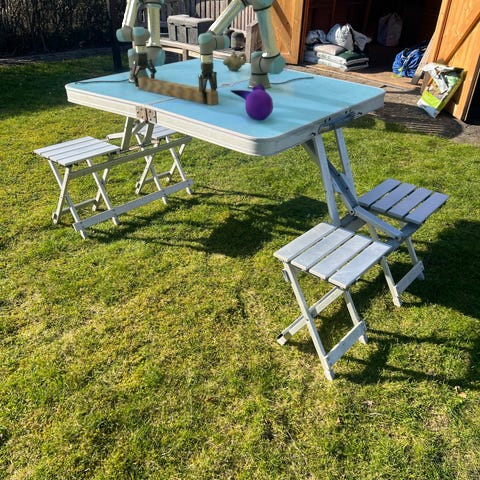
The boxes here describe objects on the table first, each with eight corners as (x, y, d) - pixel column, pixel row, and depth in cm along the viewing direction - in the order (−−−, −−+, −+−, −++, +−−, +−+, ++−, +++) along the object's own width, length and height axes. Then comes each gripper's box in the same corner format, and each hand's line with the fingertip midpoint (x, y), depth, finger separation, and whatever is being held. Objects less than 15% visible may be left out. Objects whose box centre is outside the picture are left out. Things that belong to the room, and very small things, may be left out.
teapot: (226, 73, 360) (226, 53, 352) (220, 71, 368) (219, 51, 361) (249, 70, 369) (249, 50, 361) (242, 68, 377) (242, 49, 370)
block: (138, 89, 315) (136, 77, 311) (144, 87, 319) (143, 76, 315) (211, 105, 271) (210, 92, 267) (218, 103, 275) (217, 90, 271)
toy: (255, 109, 260) (272, 127, 239) (226, 104, 252) (242, 122, 232) (262, 81, 252) (281, 97, 231) (233, 76, 244) (251, 92, 224)
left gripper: (129, 55, 292) (133, 88, 302) (159, 50, 307) (162, 83, 318) (122, 54, 296) (127, 87, 307) (152, 50, 312) (156, 81, 323)
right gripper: (199, 65, 256) (201, 106, 268) (222, 60, 268) (224, 100, 280) (190, 63, 261) (193, 104, 272) (213, 59, 272) (215, 98, 284)
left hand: (145, 85), depth 312 cm, fingers open, 13 cm apart
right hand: (208, 102), depth 276 cm, fingers closed on block, 6 cm apart
